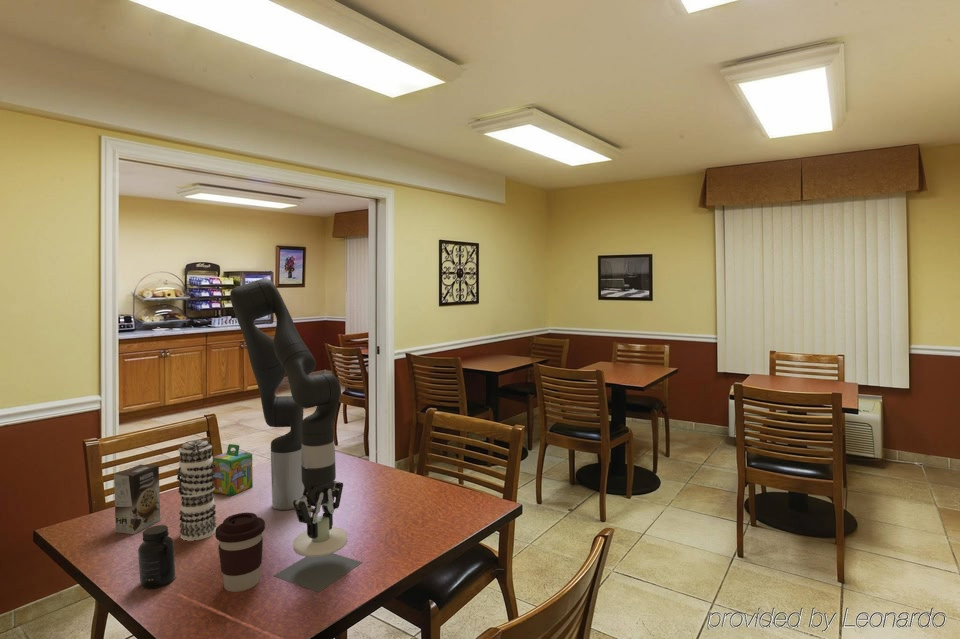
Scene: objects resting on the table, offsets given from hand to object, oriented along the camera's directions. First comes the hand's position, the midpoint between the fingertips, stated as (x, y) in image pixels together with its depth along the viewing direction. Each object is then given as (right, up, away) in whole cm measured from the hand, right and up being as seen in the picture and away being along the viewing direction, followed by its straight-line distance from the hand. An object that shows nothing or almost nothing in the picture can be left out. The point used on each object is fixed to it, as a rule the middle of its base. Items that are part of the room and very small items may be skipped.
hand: (320, 533), depth 121 cm
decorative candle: (-39, -8, +20) cm, 44 cm away
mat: (0, -9, 0) cm, 9 cm away
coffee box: (-58, -8, +24) cm, 63 cm away
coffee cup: (-16, -9, -5) cm, 19 cm away
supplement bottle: (-35, -9, -4) cm, 37 cm away
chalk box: (-44, -7, +51) cm, 68 cm away
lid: (0, -2, 0) cm, 2 cm away
